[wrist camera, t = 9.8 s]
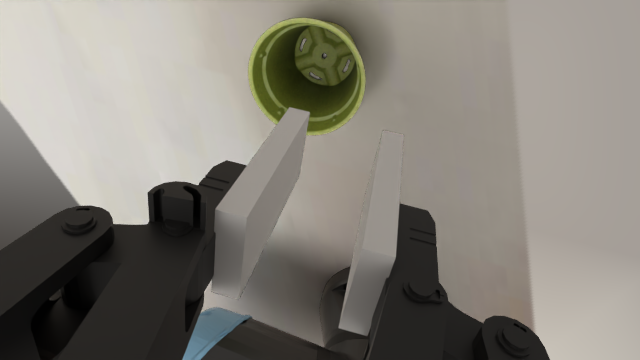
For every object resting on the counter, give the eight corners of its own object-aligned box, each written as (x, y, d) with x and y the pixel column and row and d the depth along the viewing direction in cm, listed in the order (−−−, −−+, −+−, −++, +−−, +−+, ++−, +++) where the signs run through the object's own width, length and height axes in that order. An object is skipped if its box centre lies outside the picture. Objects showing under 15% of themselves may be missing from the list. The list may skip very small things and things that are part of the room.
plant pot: (297, -17, 38) (267, -4, 30) (392, 27, 38) (386, 51, 31) (266, 76, 43) (234, 106, 35) (350, 115, 43) (336, 153, 36)
